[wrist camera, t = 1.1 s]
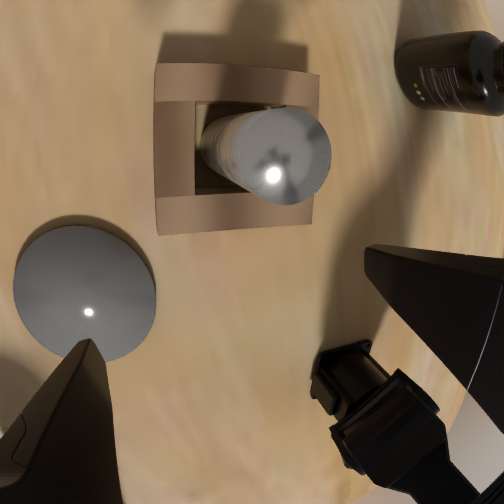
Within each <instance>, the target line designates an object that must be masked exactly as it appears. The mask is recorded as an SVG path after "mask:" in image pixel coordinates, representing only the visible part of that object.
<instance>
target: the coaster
mask: <svg viewBox="0 0 504 504" xmlns="http://www.w3.org/2000/svg"><path fill="white" fill-rule="evenodd" d="M13 293H14V301H15V305H16V308H17V311H18V314H19V316H20V318H21V320H22V322H23V324H24V325H25V327H26V328H27V330H28V331H29V332H30V334H31V335H32V336H33V337H34V338H35V339H36V340H37V341H38V342H39V343H40V344H41V345H43V346H44V347H45V348H47V349H48V350H50V351H51V352H53V353H55V354H57V355H59V356H61V357H63V358H65V357H66V356H67V354H68V353H69V352H70V351H71V350H72V349H73V347H74V346H75V345H76V344H77V343H78V342H79V341H80V340H84V339H87V338H91V339H92V340H93V341H94V342H95V344H96V346H97V348H98V350H99V351H100V353H101V355H102V357H103V358H104V361H105V362H108V361H112V360H115V359H118V358H120V357H123V356H125V355H126V354H128V353H130V352H131V351H133V350H134V349H135V348H136V347H137V346H139V345H140V344H141V343H142V341H143V340H144V339H145V338H146V336H147V335H148V333H149V331H150V329H151V327H152V324H153V322H154V318H155V313H156V294H155V288H154V283H153V280H152V277H151V274H150V272H149V270H148V268H147V266H146V264H145V263H144V261H143V260H142V258H141V257H140V256H139V255H138V253H137V252H136V251H135V250H134V249H133V248H132V247H131V246H130V245H129V244H127V243H126V242H125V241H123V240H122V239H121V238H119V237H118V236H116V235H114V234H112V233H110V232H108V231H105V230H103V229H100V228H96V227H92V226H85V225H68V226H63V227H58V228H55V229H53V230H50V231H48V232H46V233H44V234H42V235H41V236H40V237H38V238H37V239H36V240H35V241H34V242H33V243H32V244H31V245H30V246H29V247H28V248H27V249H26V251H25V252H24V254H23V255H22V256H21V258H20V260H19V262H18V264H17V267H16V271H15V275H14V281H13Z"/></svg>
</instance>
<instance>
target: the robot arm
mask: <svg viewBox="0 0 504 504" xmlns="http://www.w3.org/2000/svg"><path fill="white" fill-rule="evenodd" d="M364 270H365V274H366V276H367V277H368V279H369V280H370V281H371V282H372V284H373V285H374V286H375V287H376V289H377V290H378V291H379V293H380V294H381V295H382V296H383V298H384V299H385V300H386V301H387V303H388V304H389V305H390V306H391V307H392V309H393V310H394V311H395V312H396V313H397V314H398V315H399V316H400V317H401V318H402V319H403V320H404V321H405V322H406V323H407V324H408V325H409V326H410V328H411V329H412V330H413V331H414V332H415V333H416V334H417V335H418V336H419V337H420V338H421V339H422V340H423V342H424V343H425V344H426V345H427V346H428V347H429V348H430V349H431V350H432V351H433V352H434V354H435V355H436V356H437V357H438V358H439V359H440V360H441V361H442V362H443V364H444V365H445V366H446V367H447V368H448V369H449V370H450V371H451V373H452V374H453V375H454V376H455V377H456V378H457V379H458V381H459V382H460V383H461V384H462V385H463V386H464V387H465V389H466V390H468V392H469V394H470V395H471V396H472V397H473V398H474V399H475V401H476V402H477V403H478V404H479V405H480V407H481V408H482V409H483V410H484V411H485V412H486V414H487V415H488V416H489V417H490V419H491V420H492V421H493V422H494V424H495V425H496V426H497V427H498V429H499V430H500V431H501V432H502V433H503V434H504V258H492V257H483V256H474V255H465V254H458V253H449V252H441V251H433V250H424V249H416V248H407V247H398V246H389V245H380V244H374V245H371V246H368V247H366V248H365V250H364ZM371 347H372V342H371V341H370V340H365V341H361V342H358V343H355V344H351V345H348V346H344V347H340V348H337V349H333V350H329V351H325V352H322V353H321V354H319V356H318V360H317V365H316V370H315V374H314V378H313V382H312V387H311V394H310V396H311V398H312V399H318V401H319V402H320V404H321V405H322V407H323V408H324V409H325V411H326V412H327V414H328V415H330V416H331V415H334V417H335V418H336V420H337V421H338V422H337V423H336V424H335V425H332V426H331V427H329V429H330V431H331V433H332V434H331V437H332V439H333V440H334V442H335V444H336V445H337V447H338V449H339V451H340V453H341V456H342V460H343V463H344V465H345V467H346V468H348V469H354V470H355V471H357V472H358V473H359V474H361V475H365V474H367V476H368V477H369V478H370V479H371V480H372V482H373V483H374V484H376V485H378V486H381V487H384V488H389V489H392V490H396V491H399V492H403V493H406V494H409V495H411V496H412V498H413V499H414V500H415V501H416V502H417V504H504V472H502V473H501V474H500V476H499V477H497V479H496V480H495V481H494V482H493V483H492V484H491V485H490V486H489V487H488V488H486V489H485V490H484V491H483V492H482V493H481V494H480V493H479V492H478V491H477V490H476V488H474V486H473V485H472V484H471V483H470V482H469V481H468V480H467V479H466V478H465V476H464V475H463V474H462V473H461V472H460V471H459V470H458V469H457V468H456V466H454V464H453V463H452V462H451V461H450V456H449V449H448V441H447V434H446V428H445V424H444V423H443V422H442V421H441V420H440V419H439V418H438V416H437V415H436V414H437V413H438V412H439V411H440V409H439V407H438V406H437V404H436V403H435V402H434V401H433V400H432V398H431V397H430V396H429V395H428V394H427V393H426V392H425V391H424V390H423V389H422V388H421V387H420V386H418V385H417V384H416V383H415V382H414V381H413V380H411V379H410V378H409V377H408V376H407V375H406V374H405V373H403V372H402V371H401V370H400V369H399V368H398V369H397V370H396V371H394V374H393V375H392V376H390V375H389V374H388V373H387V372H386V371H385V370H384V369H383V368H382V367H381V366H380V365H379V364H378V363H377V362H376V361H375V360H374V359H373V358H372V357H371V356H370V355H369V353H370V350H371ZM21 413H22V414H19V416H18V417H17V418H16V420H15V421H14V422H13V424H12V425H11V426H10V428H9V429H8V430H7V432H6V433H5V434H4V435H3V436H2V438H1V439H0V504H123V501H122V495H121V488H120V481H119V474H118V466H117V458H116V448H115V437H114V425H113V411H112V403H111V396H110V390H109V384H108V377H107V370H106V364H105V361H104V358H103V357H102V355H101V353H100V351H99V350H98V348H97V346H96V344H95V342H94V341H93V340H92V339H91V338H87V339H84V340H80V341H79V342H78V343H77V344H76V345H75V346H74V347H73V349H72V350H71V351H70V352H69V353H68V354H67V356H66V357H65V358H64V359H63V360H62V362H61V363H60V364H59V365H58V366H57V368H56V369H55V370H54V371H53V373H52V374H51V375H50V376H49V377H48V379H47V380H46V381H45V382H44V384H43V385H42V386H41V387H40V389H39V390H38V391H37V393H36V394H35V395H34V396H33V398H32V399H31V400H30V401H29V403H28V404H27V405H26V407H25V408H24V409H23V411H22V412H21Z"/></svg>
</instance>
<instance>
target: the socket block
mask: <svg viewBox="0 0 504 504" xmlns="http://www.w3.org/2000/svg"><path fill="white" fill-rule="evenodd" d="M319 79H320V75H317V74H311V73H305V72H298V71H291V70H283V69H275V68H266V67H256V66H245V65H230V64H210V63H156V67H155V75H154V111H153V152H154V189H155V210H156V225H157V232H158V236H162V235H173V234H185V233H197V232H209V231H222V230H234V229H248V228H262V227H276V226H291V225H306V224H312V212H313V199H314V195H312V196H311V197H310V198H308V199H306V200H305V201H303V202H300V203H297V204H293V205H276V204H272V203H269V202H267V201H265V200H263V199H261V198H260V197H258V196H256V195H255V194H253V193H251V192H250V191H248V190H246V189H244V188H243V187H241V186H222V187H201V188H195V180H194V136H195V104H224V105H251V106H268V107H271V109H278V108H295V109H299V110H302V111H304V112H307V113H308V114H310V115H311V116H313V117H314V118H315V119H316V120H317V121H318V112H319Z"/></svg>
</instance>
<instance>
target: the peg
mask: <svg viewBox="0 0 504 504" xmlns="http://www.w3.org/2000/svg"><path fill="white" fill-rule="evenodd" d="M200 151H201V155H202V158H203V160H204V162H205V163H206V164H207V165H208V167H209V168H211V169H212V170H213V171H215V172H217V173H218V174H220V175H222V176H224V177H225V178H227V179H229V180H231V181H232V182H234V183H236V184H238V185H239V186H241V187H243V188H244V189H246V190H248V191H250V192H251V193H253V194H255V195H256V196H258V197H260V198H261V199H263V200H265V201H267V202H269V203H272V204H276V205H293V204H297V203H300V202H303V201H305V200H306V199H308V198H310V197H311V196H312V195H314V194H315V193H316V192H317V191H318V190H319V188H320V187H321V186H322V184H323V183H324V181H325V179H326V177H327V175H328V172H329V169H330V165H331V146H330V141H329V138H328V136H327V133H326V131H325V130H324V128H323V127H322V125H321V124H320V123H319V122H318V121H317V120H316V119H315V118H314V117H313V116H311V115H310V114H308V113H307V112H304V111H302V110H299V109H295V108H278V109H270V110H262V111H255V112H248V113H242V114H236V115H230V116H224V117H220V118H218V119H216V120H214V121H213V122H212V123H210V124H209V125H208V126H207V128H206V129H205V130H204V132H203V134H202V137H201V142H200Z"/></svg>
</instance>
